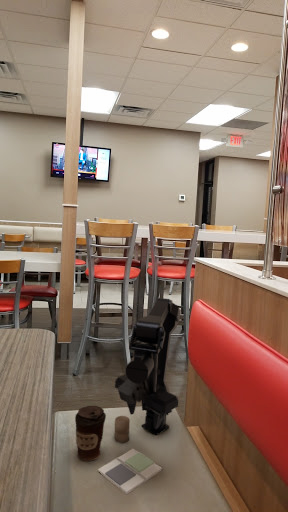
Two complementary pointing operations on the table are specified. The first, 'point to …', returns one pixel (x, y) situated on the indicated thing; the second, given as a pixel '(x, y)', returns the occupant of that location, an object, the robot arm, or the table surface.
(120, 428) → the brown tapered cylinder
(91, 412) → the coffee cup
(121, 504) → the table surface
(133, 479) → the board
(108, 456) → the table surface
